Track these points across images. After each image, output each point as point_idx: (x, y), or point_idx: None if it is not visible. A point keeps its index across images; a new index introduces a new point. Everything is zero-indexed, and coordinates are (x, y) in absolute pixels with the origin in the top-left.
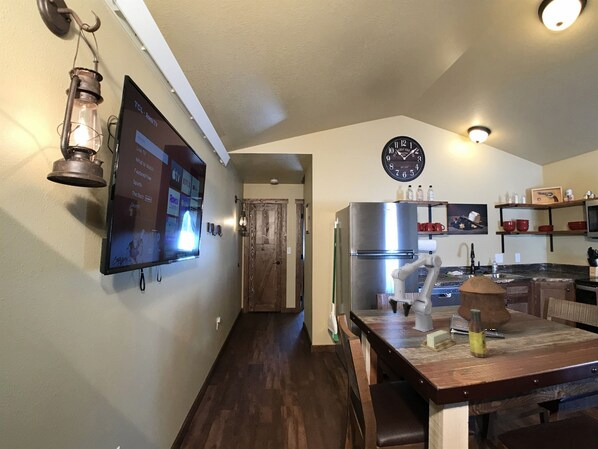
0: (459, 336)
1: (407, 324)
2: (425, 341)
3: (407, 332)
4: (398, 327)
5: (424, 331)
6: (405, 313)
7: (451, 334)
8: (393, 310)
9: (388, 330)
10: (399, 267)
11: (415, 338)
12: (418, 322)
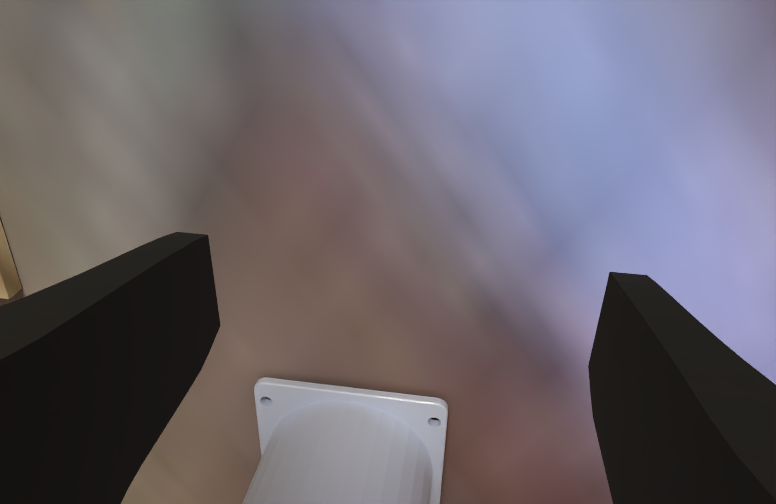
0: None
1: (586, 483)
2: None
3: (388, 214)
4: None
5: (258, 383)
6: (100, 267)
7: None
8: (645, 313)
9: (674, 37)
10: None
11: (153, 82)
12: (322, 475)
